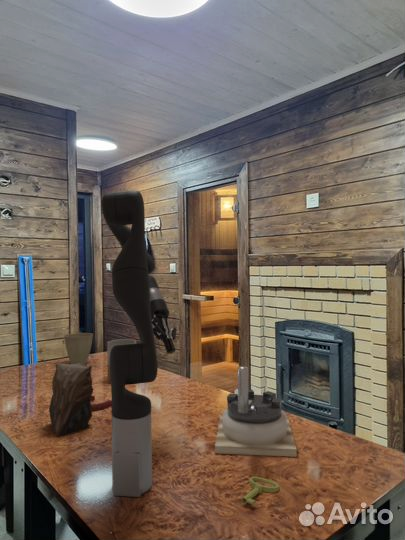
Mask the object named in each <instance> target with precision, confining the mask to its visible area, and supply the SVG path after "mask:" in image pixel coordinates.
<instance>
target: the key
mask: <svg viewBox="0 0 405 540" xmlns="http://www.w3.org/2000/svg"><path fill="white" fill-rule="evenodd" d="M257 482H263V483H265V484H270V485H271V486H266V485H262V484H260V483H257ZM248 483H249V485H250V486H251V488H253V489H252V490H251V491H249V492H248V493H247V494H246V495H244V496H243V497H242V498H241V502H242V504H245V505H246V504H247V503H248V504H250V505H255V504H256V500H255V499H254V497H255V496H257V495H258V494H262V492H264V493H270V494H271V493H274V494H275V493H277V492H279V490H280V484H278V482H276V481H273V480H270V479H268V478H264V477H260V476H251V477H249V480H248Z"/></svg>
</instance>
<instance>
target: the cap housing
mask: <svg viewBox="0 0 405 540" xmlns="http://www.w3.org/2000/svg"><path fill="white" fill-rule="evenodd" d="M287 415H288V414H287V413H286V412H285V411H284V410H282V415H281V417H280V418H279V419H278V420H276V421H273V422H269V423H260V424H254V423H245V422H240V421H237V420H234V419H232V418H231V417H230V416H229V415H228V407H227V408H226V409H224V410H223V412H222V416H223V433H224V435H225V436H226V437H227V438H229V439H230V440H233V441H235V442H238V443H242V444H247V445H269V444H274V443H277V442H280V441H282V440H283V439H284V438H285V437H286V436H287V418H288V417H287Z"/></svg>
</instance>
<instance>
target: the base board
mask: <svg viewBox="0 0 405 540" xmlns="http://www.w3.org/2000/svg"><path fill="white" fill-rule="evenodd" d="M218 422H219V423H218V426H217V427H218V428H217V433H216V437H215V443H214V454H220V455H221V454H222V455H223V454H225V455H242V456H243V455H246V456H270V457H272V456H273V457H293V458H294V457H295V458H296V457H297V456H298V455H297V450H298V449H297V447H296V443H295V438H294V436H293V432H292V428H291V424H290V421H289V418H288V417H287V436H286V437H285V438H284V439H283V440H282V441H280V442H277V443H274V444H269V445H247V444H242V443H238V442H235V441H233V440H230V439H229V438H227V437H226V436H225V435H224V433H223V415H220V417H219V421H218Z"/></svg>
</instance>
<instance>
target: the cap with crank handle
mask: <svg viewBox="0 0 405 540" xmlns="http://www.w3.org/2000/svg"><path fill="white" fill-rule="evenodd" d="M226 402H227V408H228V415H229V416H230V417H231V418H232V419H234V420H237V421H240V422H245V423H254V424H260V423H269V422H273V421H276V420H278V419H279V418H280V417H281V415H282V411H283V410H282V405H283V399H282V398H277V393H276V392H272V391H269V390H267V391H264V392H262V394H255V391H254V390H253V389H249V366H245V365H239V366H237V393H229V394H228V395H227V396H226Z"/></svg>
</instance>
